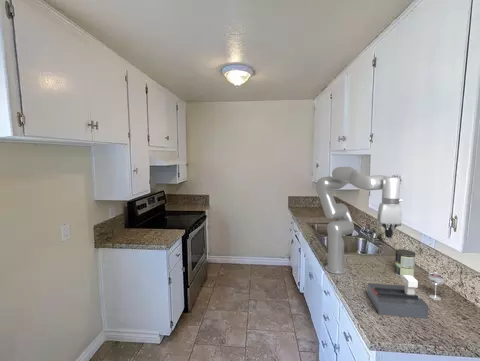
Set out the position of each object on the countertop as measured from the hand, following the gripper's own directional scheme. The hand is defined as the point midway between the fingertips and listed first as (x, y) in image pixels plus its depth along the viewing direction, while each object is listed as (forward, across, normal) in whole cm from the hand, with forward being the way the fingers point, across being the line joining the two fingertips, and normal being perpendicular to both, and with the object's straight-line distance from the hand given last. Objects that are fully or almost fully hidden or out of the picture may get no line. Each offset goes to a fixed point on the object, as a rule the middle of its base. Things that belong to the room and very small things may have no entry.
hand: (388, 237), depth 133 cm
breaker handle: (+25, -7, +9) cm, 27 cm away
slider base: (+31, -1, +9) cm, 32 cm away
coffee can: (+31, -20, -28) cm, 47 cm away
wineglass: (+31, -24, -2) cm, 39 cm away
